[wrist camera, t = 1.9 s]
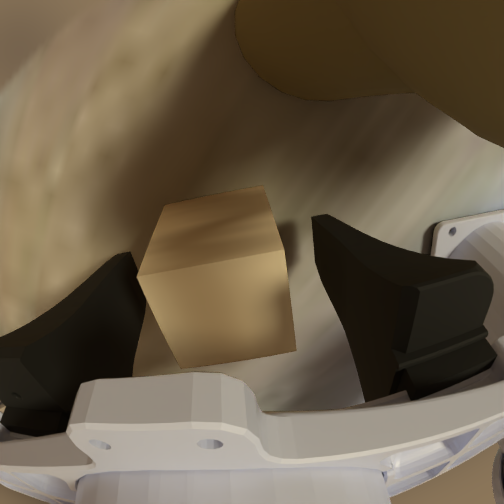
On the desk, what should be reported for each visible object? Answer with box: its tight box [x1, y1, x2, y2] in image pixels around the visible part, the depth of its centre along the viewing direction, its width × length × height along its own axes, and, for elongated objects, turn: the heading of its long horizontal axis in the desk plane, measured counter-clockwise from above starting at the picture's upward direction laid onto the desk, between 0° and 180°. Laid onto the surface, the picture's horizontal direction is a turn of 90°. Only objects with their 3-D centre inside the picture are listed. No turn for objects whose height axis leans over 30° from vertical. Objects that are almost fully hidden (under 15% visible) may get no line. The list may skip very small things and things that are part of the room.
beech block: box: [137, 185, 297, 369], centre depth 11 cm, size 4×4×5 cm
